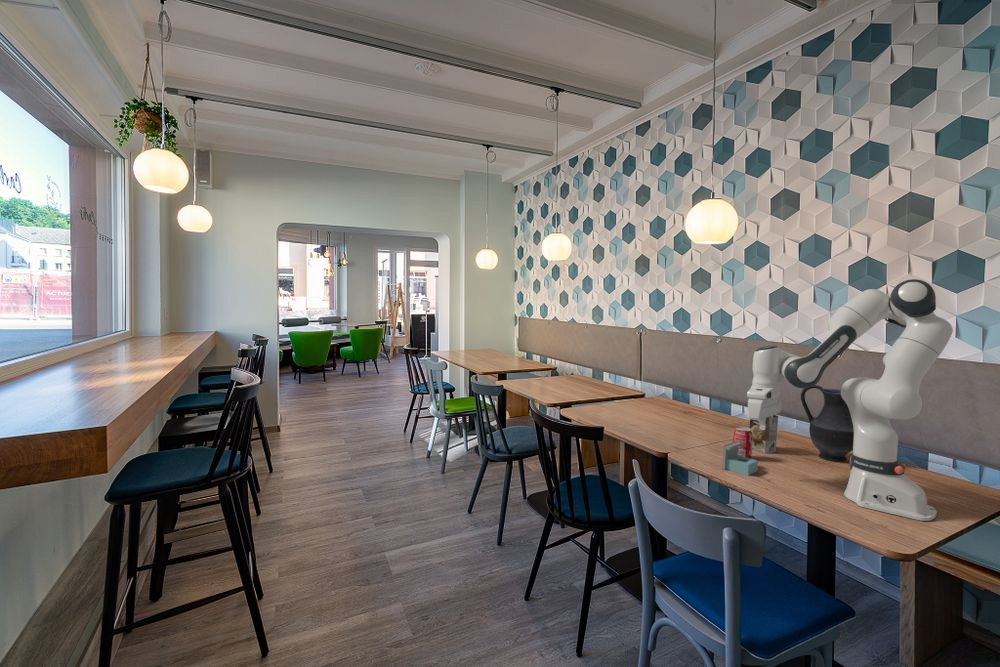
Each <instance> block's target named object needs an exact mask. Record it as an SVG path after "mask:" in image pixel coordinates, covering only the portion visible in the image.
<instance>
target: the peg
mask: <svg viewBox="0 0 1000 667" xmlns="http://www.w3.org/2000/svg"><path fill="white" fill-rule="evenodd" d="M765 423H766V425H767V429H766V430H761V440H763V441H769V417H768V418H766V421H765Z"/></svg>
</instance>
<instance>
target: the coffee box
mask: <svg viewBox="0 0 1000 667" xmlns="http://www.w3.org/2000/svg"><path fill="white" fill-rule="evenodd" d="M778 424H779V415H777V414H775V415H773V419H772V423H771V427H770V428H769V441H763V440H761V429H760V424H759V421H757V420H751V419H750V418H749V429H751V432H752V434H753V445H752V450H756V451H759V452H761V453H764V454H771V453H776V452H777V451H776V449H777V437H778V427H779V426H778Z"/></svg>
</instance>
